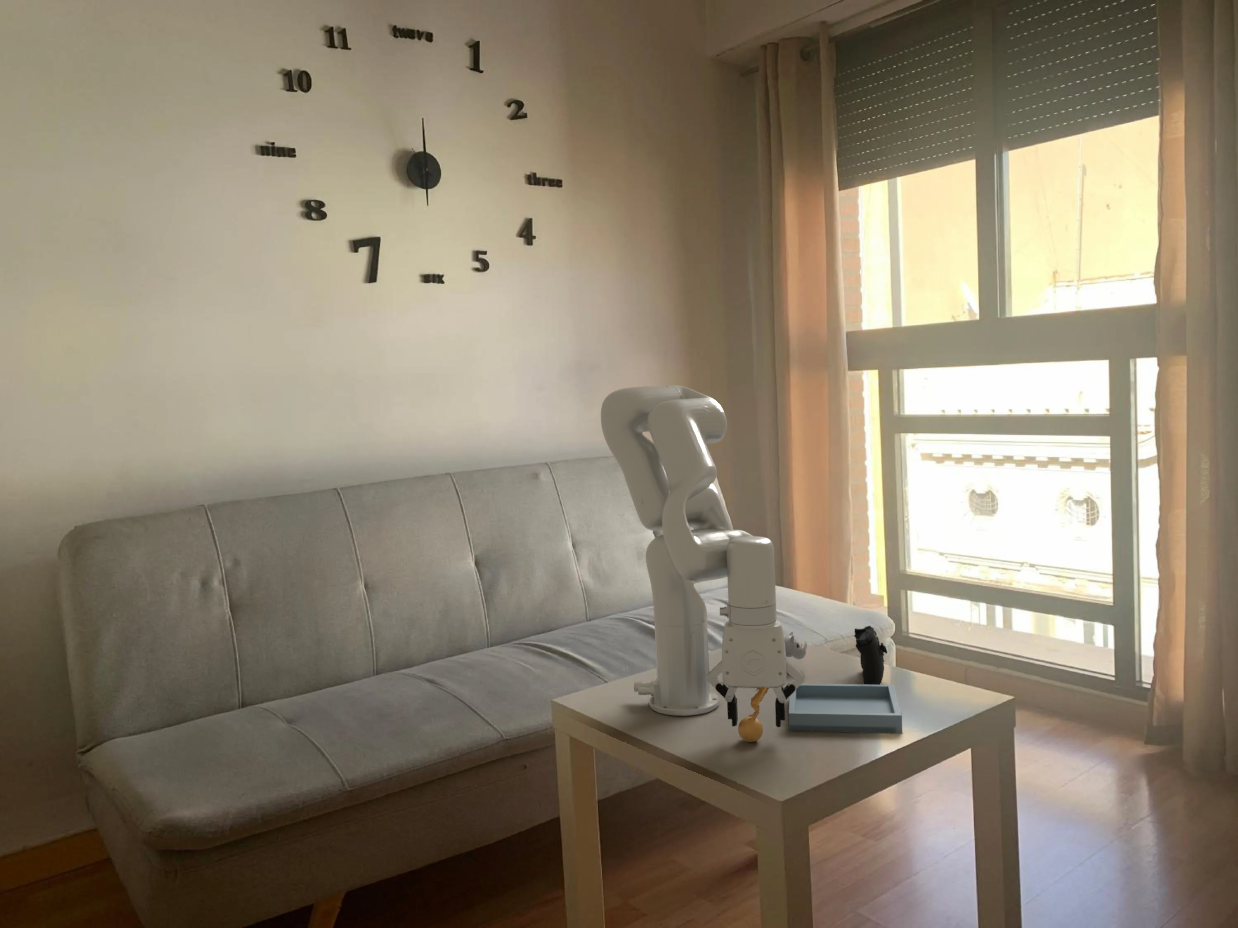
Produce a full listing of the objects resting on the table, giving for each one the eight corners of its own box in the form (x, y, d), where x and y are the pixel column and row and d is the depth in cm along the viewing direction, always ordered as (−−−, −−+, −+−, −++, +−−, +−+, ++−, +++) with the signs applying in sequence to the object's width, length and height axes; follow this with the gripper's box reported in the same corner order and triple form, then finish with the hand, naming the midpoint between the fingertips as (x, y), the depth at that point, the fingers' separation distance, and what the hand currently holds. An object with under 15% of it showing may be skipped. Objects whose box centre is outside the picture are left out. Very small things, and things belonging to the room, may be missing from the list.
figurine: (739, 731, 161) (737, 661, 160) (776, 732, 160) (773, 661, 159) (737, 750, 153) (734, 676, 152) (776, 751, 152) (773, 676, 151)
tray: (789, 730, 160) (788, 713, 160) (791, 699, 176) (790, 683, 176) (902, 733, 157) (901, 715, 157) (893, 701, 173) (893, 684, 172)
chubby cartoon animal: (809, 675, 190) (808, 632, 189) (747, 676, 191) (746, 633, 191) (806, 664, 197) (805, 623, 196) (747, 665, 199) (745, 624, 198)
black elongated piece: (891, 692, 177) (890, 639, 177) (857, 692, 179) (855, 639, 178) (886, 670, 191) (884, 620, 190) (854, 669, 192) (853, 620, 192)
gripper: (695, 620, 153) (700, 730, 154) (807, 620, 150) (811, 733, 151) (701, 609, 160) (705, 714, 162) (807, 608, 157) (811, 716, 158)
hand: (756, 722), depth 156 cm, fingers open, 6 cm apart
